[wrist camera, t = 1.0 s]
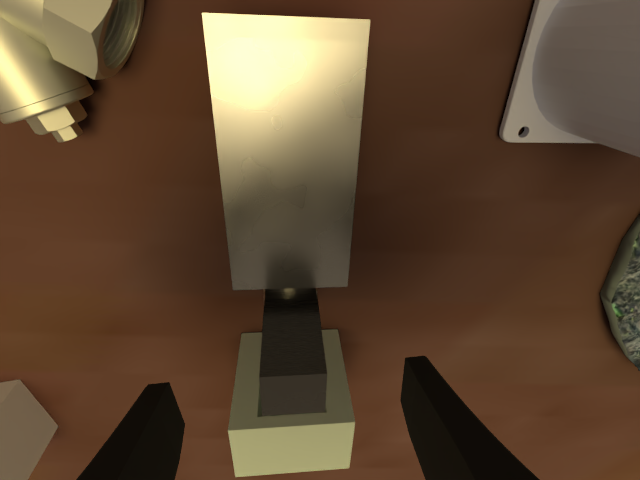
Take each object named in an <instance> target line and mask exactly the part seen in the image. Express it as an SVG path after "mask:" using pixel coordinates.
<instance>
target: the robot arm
mask: <svg viewBox="0 0 640 480" xmlns="http://www.w3.org/2000/svg"><path fill="white" fill-rule="evenodd" d="M522 127H524V132H523V133H522V134H521V135H518V132H519V130H520V129H521V128H522ZM499 135H500V138H501V139H502V140H504V141H506V142H517V143H599V144H602V145H605V146H608V147H611V148H614V149H616V150H619V151H622V152H625V153H628V154H631V155H634V156H637V157H640V0H535V3H534V6H533V10H532V14H531V17H530V21H529V25H528V28H527V32H526V36H525V39H524V43H523V46H522V50H521V54H520V57H519V61H518V65H517V68H516V72H515V76H514V79H513V83H512V87H511V90H510V94H509V98H508V101H507V105H506V109H505V112H504V116H503V120H502V123H501V127H500V131H499ZM401 404H402V408H403V412H404V416H405V420H406V424H407V428H408V432H409V435H410V438H411V441H412V443H413V446H414V449H415V452H416V454H417V457H418V460H419V463H420V465H421V468H422V471H423V474H424V476H425V479H426V480H539V479H538V478H537V477H536V476H535V475H534V474H533V473H532V472H531V471H530V470H528V469H527V468H526V467H525V466H524V465H523V464H522V463H521V462H520V461H519V460H518V459H517V458H516V457H515V456H514V455H513V454H512V453H511V452H510V451H509V450H508V449H507V448H506V447H505V446H504V445H503V444H502V443H501V442H500V441H499V440H498V439H497V438H496V437H495V436H494V435H493V434H492V433H491V432H490V431H489V430H488V429H487V428H486V427H485V426H484V424H483V423H482V422H481V421H480V420H479V419H478V418H477V417H476V416H475V415H474V413H473V412H472V411H471V410H470V409H469V408H468V407H467V406H466V405H465V403H464V402H463V401H462V400H461V399H460V398H459V397H458V395H457V394H456V393H455V392H454V391H453V389H452V388H451V387H450V386H449V385H448V383H447V382H446V381H445V380H444V379H443V377H442V376H441V375H440V374H439V372H438V371H437V370H436V369H435V367H434V366H433V365H432V363H431V362H430V361H429V360H428V358H427V357H425V356H418V357H408V358H405V365H404V374H403V383H402V392H401ZM184 427H185V423H184V420H183V418H182V415H181V412H180V410H179V407H178V404H177V402H176V399H175V396H174V394H173V391H172V389H171V386H170V383H169V382H168V383H158V384H148V385H147V387H146V388H145V389H144V390H143V392H142V393H141V395H140V396H139V397H138V399H137V400H136V402H135V403H134V404H133V406H132V407H131V409H130V410H129V411H128V413H127V414H126V415H125V417H124V418H123V420H122V421H121V422H120V424H119V425H118V426H117V428H116V429H115V430H114V432H113V433H112V435H111V436H110V437H109V438H108V440H107V441H106V442H105V444H104V445H103V446H102V448H101V449H100V450H99V452H98V453H97V454H96V456H95V457H94V458H93V459H92V461H91V462H90V463H89V465H88V466H87V467H86V468H85V470H84V471H83V472H82V473H81V475H80V476H79V477H78V478H77V479H76V480H174V479H175V476H176V472H177V468H178V464H179V459H180V454H181V448H182V441H183V434H184Z"/></svg>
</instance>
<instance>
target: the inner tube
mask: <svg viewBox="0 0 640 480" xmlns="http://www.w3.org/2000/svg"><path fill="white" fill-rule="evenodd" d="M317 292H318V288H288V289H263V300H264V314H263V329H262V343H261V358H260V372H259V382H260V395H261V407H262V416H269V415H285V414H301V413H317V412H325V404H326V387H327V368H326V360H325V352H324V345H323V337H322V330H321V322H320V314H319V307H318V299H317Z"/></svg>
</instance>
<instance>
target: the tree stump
mask: <svg viewBox="0 0 640 480" xmlns="http://www.w3.org/2000/svg"><path fill="white" fill-rule="evenodd" d="M600 296H601V299H602V302H603V305H604V308H605V311H606V314H607V317H608V320H609V323H610V327H611V331H612V334H613V335H614V337H615V339H616V340H617V342H618V344H619V346H620V347H621V349H622V351H623V352H624V354H625V356H626V357H627V358H628V359H629V360H631V361H632V362H633V363H634V365H635V366H636V367H637V368H638V370H639V371H640V214H639V215H638V217H637V218H636V220H635V221H634V223H633V224H632V226H631V227H630V229H629V230H628V231H627V233H626V234H625V236H624V237H623V239H622V241H621V243H620V246H619V248H618V251H617V253H616V256H615V258H614V260H613V263H612V265H611V268H610V270H609V272H608V275H607V277H606V280H605V282H604V285H603V287H602V289H601V292H600Z"/></svg>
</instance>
